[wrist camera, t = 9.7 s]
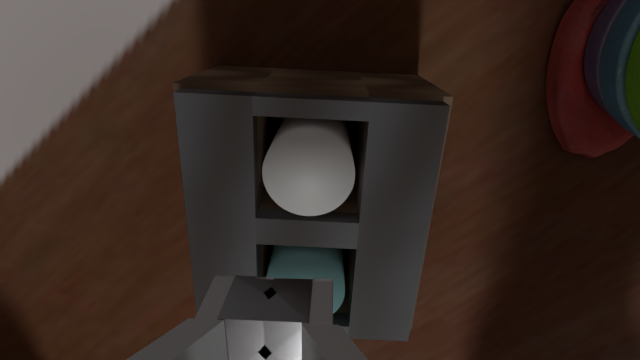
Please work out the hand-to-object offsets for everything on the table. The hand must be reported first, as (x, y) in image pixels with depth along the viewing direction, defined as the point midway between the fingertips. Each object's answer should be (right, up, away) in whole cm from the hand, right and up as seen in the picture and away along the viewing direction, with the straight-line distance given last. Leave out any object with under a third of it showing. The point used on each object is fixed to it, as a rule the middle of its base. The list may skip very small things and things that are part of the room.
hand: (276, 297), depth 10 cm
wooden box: (+1, +4, +15) cm, 16 cm away
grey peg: (+1, +6, +14) cm, 15 cm away
